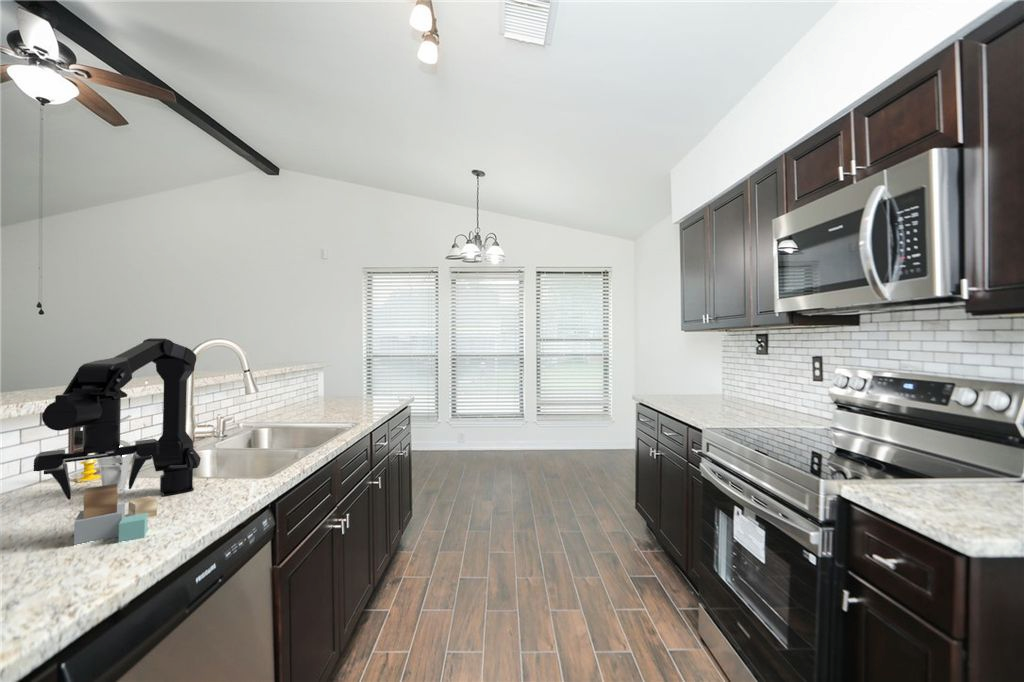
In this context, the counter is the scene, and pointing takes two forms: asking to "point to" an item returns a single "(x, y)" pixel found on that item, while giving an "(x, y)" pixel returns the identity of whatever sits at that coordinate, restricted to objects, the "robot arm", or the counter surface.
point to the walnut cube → (100, 501)
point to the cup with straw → (115, 467)
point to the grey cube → (98, 526)
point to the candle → (88, 470)
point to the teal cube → (133, 527)
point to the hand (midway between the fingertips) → (100, 493)
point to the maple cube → (143, 506)
